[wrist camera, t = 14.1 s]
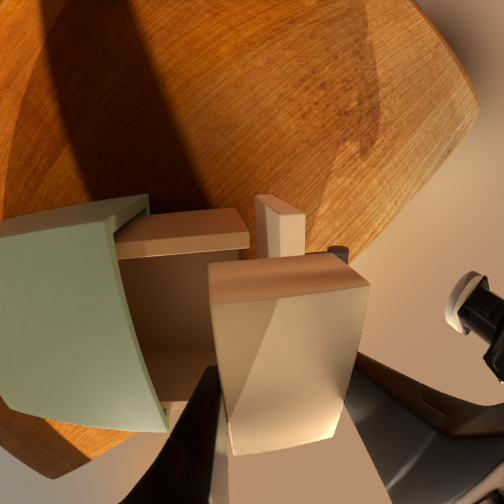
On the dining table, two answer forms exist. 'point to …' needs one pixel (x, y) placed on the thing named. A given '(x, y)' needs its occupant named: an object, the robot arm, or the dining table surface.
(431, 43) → the dining table surface
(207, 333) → the drawer
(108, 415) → the cabinet
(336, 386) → the beige rectangular block
